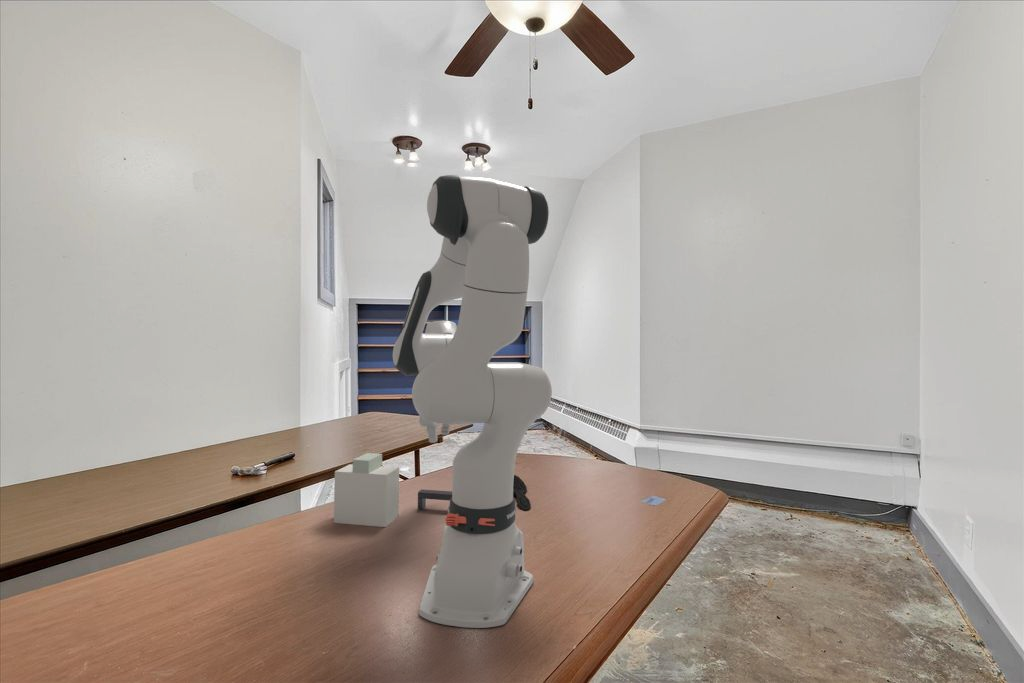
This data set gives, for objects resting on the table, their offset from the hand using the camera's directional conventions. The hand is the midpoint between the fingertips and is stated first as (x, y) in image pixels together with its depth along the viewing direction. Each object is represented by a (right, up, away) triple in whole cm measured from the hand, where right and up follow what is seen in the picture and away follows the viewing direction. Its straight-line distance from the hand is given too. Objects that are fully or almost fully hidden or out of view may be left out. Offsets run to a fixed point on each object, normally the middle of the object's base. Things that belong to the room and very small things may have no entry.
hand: (439, 438), depth 120 cm
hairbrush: (+20, -19, +12) cm, 30 cm away
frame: (0, -18, 0) cm, 18 cm away
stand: (-16, -18, -8) cm, 25 cm away
